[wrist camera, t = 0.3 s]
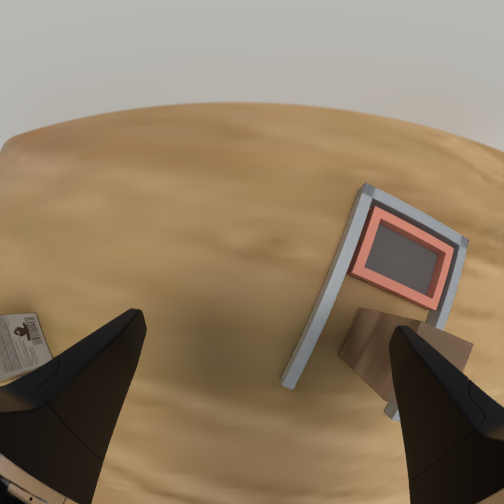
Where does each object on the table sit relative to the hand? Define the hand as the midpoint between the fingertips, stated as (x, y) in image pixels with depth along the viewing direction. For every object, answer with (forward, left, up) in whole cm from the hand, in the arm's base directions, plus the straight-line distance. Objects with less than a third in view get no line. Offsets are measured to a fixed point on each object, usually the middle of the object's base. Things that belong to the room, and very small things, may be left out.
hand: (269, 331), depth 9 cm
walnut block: (-8, -6, -15) cm, 18 cm away
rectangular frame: (-3, -12, -15) cm, 19 cm away
